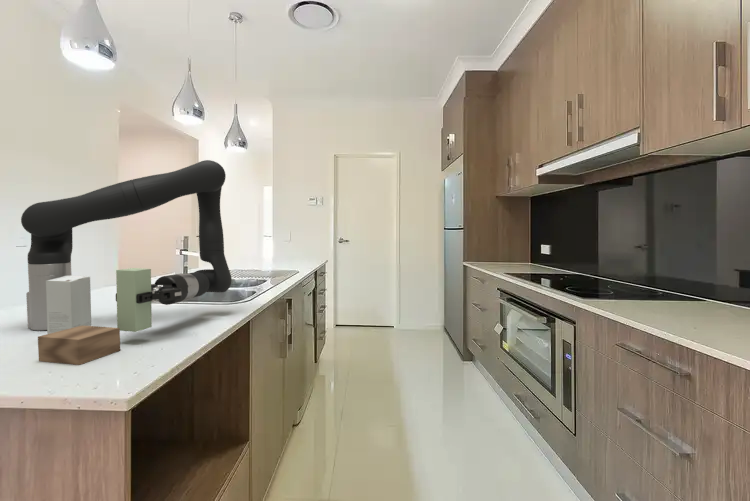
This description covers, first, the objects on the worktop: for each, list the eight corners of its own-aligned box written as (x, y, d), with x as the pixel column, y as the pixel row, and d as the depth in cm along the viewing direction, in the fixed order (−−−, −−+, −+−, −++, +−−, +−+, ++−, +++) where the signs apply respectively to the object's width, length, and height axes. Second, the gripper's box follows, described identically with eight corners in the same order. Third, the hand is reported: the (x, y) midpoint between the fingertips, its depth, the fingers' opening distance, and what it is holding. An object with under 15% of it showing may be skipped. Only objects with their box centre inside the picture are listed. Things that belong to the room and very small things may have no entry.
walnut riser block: (38, 361, 86) (37, 336, 86) (82, 347, 96) (81, 325, 96) (79, 364, 84) (78, 339, 84) (120, 350, 94) (119, 328, 94)
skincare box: (68, 333, 108) (66, 275, 107) (93, 333, 109) (91, 275, 108) (46, 343, 100) (43, 279, 99) (73, 342, 100) (71, 279, 100)
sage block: (117, 330, 99) (116, 270, 98) (134, 325, 104) (133, 268, 103) (135, 331, 98) (134, 270, 97) (151, 327, 103) (150, 268, 102)
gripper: (153, 273, 116) (100, 280, 100) (200, 275, 113) (153, 283, 97) (154, 300, 117) (101, 312, 100) (200, 303, 114) (154, 316, 97)
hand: (127, 298), depth 98 cm, fingers closed on sage block, 5 cm apart
